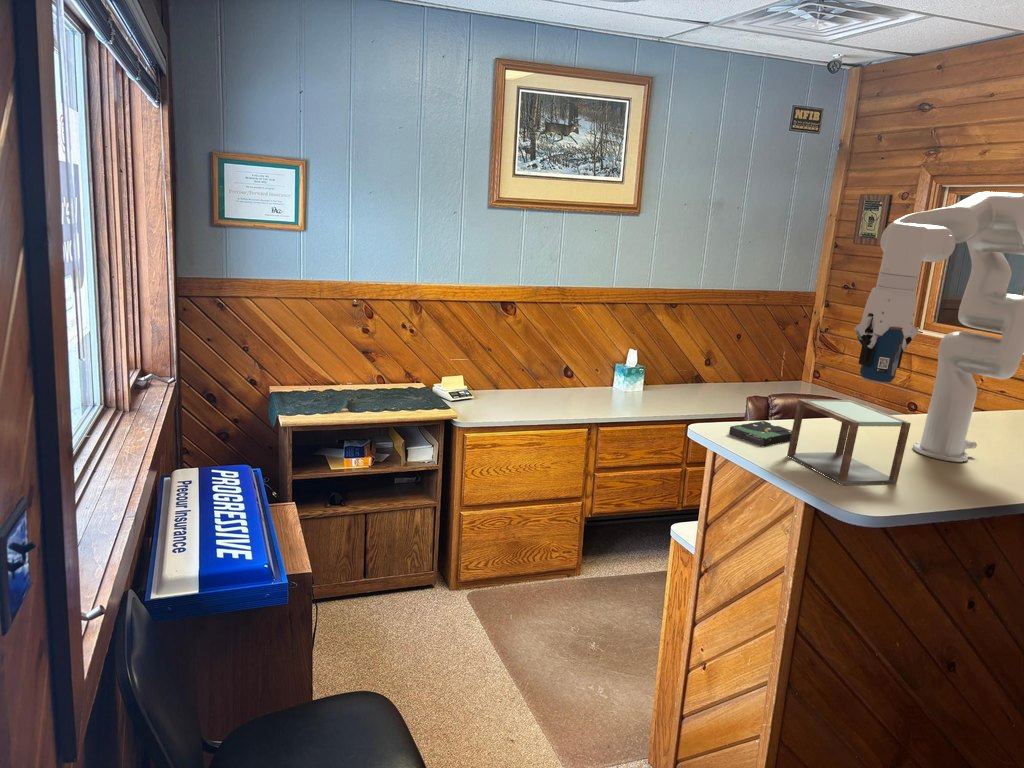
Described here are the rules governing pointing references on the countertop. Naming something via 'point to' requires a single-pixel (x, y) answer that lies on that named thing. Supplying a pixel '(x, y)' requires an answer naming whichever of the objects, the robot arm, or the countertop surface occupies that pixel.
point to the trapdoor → (858, 413)
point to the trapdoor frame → (845, 450)
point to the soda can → (884, 357)
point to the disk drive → (761, 433)
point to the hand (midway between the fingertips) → (878, 365)
